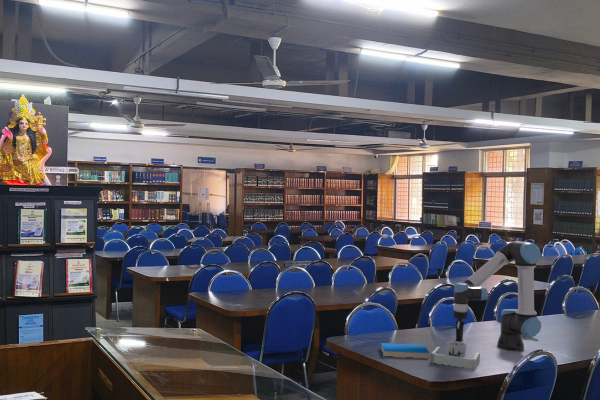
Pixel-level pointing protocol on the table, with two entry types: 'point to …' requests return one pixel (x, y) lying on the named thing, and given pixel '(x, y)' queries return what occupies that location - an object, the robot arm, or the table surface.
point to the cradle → (454, 360)
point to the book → (404, 350)
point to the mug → (456, 348)
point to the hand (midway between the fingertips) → (458, 352)
